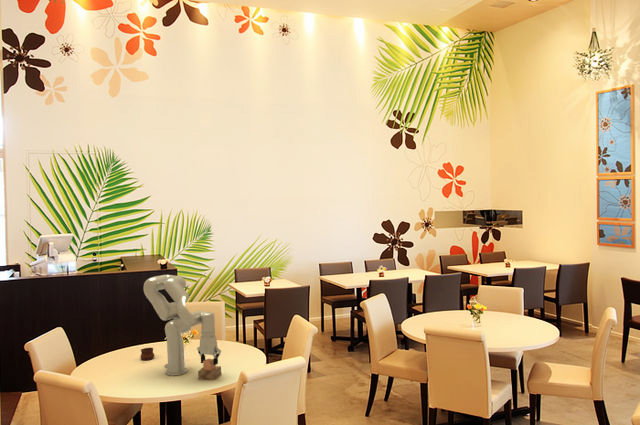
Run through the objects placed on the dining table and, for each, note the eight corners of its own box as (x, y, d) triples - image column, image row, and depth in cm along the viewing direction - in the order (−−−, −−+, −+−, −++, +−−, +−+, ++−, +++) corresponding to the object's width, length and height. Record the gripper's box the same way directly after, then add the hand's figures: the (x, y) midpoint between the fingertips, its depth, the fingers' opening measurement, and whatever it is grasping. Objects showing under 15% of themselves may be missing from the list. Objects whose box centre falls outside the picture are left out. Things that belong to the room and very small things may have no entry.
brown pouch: (149, 364, 330) (149, 353, 330) (127, 362, 336) (126, 351, 336) (167, 356, 347) (167, 346, 347) (145, 355, 353) (145, 344, 353)
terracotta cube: (203, 369, 301) (203, 360, 301) (209, 367, 305) (208, 358, 305) (210, 370, 298) (209, 361, 298) (215, 368, 303) (215, 359, 303)
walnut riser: (198, 380, 298) (198, 371, 298) (205, 374, 308) (204, 365, 308) (215, 380, 296) (214, 371, 296) (221, 374, 306) (220, 366, 306)
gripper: (192, 334, 302) (193, 363, 303) (215, 336, 294) (216, 367, 294) (201, 331, 309) (202, 360, 309) (224, 333, 301) (225, 363, 301)
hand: (209, 363), depth 302 cm, fingers open, 9 cm apart
